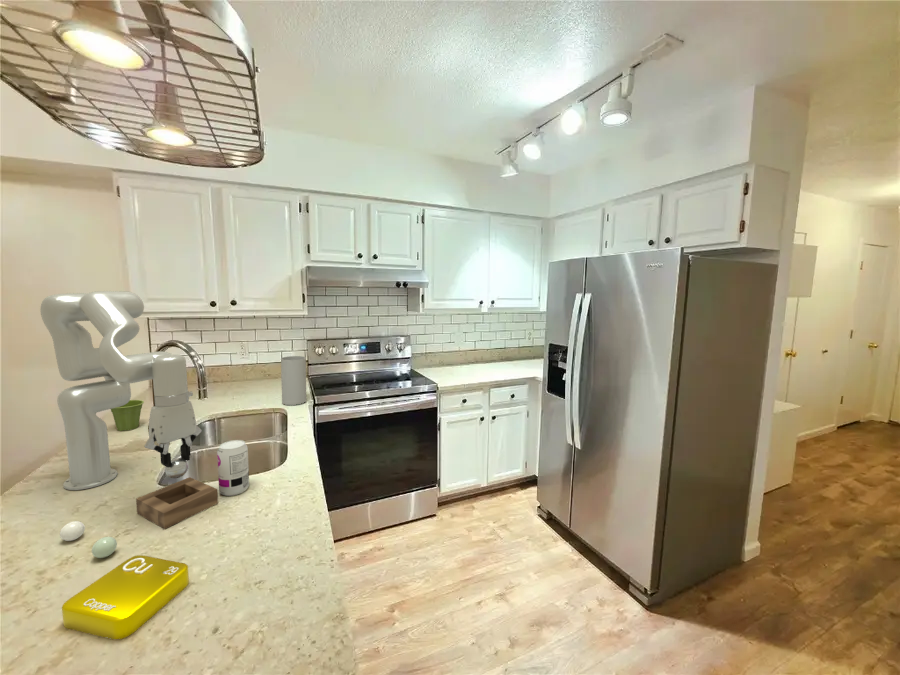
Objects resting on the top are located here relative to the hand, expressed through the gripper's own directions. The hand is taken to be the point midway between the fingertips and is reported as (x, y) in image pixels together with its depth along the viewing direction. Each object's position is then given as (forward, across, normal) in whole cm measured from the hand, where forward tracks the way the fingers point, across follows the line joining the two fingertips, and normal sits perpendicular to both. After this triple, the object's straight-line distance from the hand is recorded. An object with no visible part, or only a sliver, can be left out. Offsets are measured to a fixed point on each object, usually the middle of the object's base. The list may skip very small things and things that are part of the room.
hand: (176, 462), depth 107 cm
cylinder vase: (+14, -87, -54) cm, 103 cm away
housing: (+14, 0, 0) cm, 14 cm away
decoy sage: (+12, +19, +6) cm, 23 cm away
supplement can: (+14, -14, +4) cm, 20 cm away
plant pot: (+13, -23, -83) cm, 88 cm away
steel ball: (+2, 0, 0) cm, 2 cm away
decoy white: (+12, +20, -8) cm, 25 cm away
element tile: (+15, +23, +26) cm, 38 cm away
